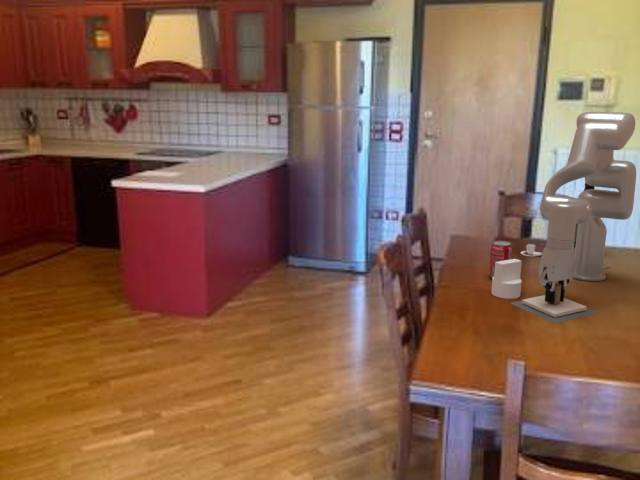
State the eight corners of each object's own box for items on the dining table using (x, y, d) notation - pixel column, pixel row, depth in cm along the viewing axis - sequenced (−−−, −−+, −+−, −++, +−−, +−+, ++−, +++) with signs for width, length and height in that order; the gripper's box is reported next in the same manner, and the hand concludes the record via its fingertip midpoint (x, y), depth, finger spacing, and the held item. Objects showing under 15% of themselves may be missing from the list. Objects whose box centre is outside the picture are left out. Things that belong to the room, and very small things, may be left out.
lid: (552, 296, 190) (554, 275, 188) (586, 309, 178) (588, 287, 177) (521, 302, 184) (523, 281, 182) (554, 317, 173) (557, 294, 171)
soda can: (510, 281, 209) (513, 246, 205) (489, 280, 210) (492, 245, 207) (508, 275, 215) (511, 241, 212) (488, 274, 217) (490, 240, 213)
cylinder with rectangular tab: (505, 303, 188) (508, 267, 185) (485, 294, 195) (487, 259, 193) (526, 299, 192) (529, 263, 189) (505, 290, 200) (508, 256, 197)
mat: (551, 297, 193) (551, 294, 193) (598, 316, 177) (598, 312, 177) (509, 306, 185) (509, 303, 185) (554, 326, 170) (554, 322, 169)
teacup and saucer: (544, 258, 240) (545, 248, 239) (524, 257, 240) (525, 248, 239) (537, 252, 248) (538, 242, 247) (517, 252, 248) (518, 242, 247)
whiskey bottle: (566, 251, 248) (574, 174, 240) (590, 252, 247) (600, 175, 239) (572, 257, 238) (581, 178, 230) (598, 259, 237) (608, 179, 229)
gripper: (569, 237, 183) (563, 293, 188) (529, 243, 176) (524, 301, 181) (590, 242, 176) (583, 301, 181) (549, 249, 169) (543, 310, 174)
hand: (554, 300), depth 181 cm, fingers closed on lid, 3 cm apart
